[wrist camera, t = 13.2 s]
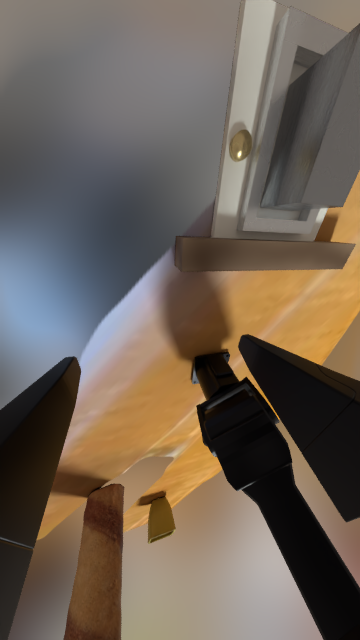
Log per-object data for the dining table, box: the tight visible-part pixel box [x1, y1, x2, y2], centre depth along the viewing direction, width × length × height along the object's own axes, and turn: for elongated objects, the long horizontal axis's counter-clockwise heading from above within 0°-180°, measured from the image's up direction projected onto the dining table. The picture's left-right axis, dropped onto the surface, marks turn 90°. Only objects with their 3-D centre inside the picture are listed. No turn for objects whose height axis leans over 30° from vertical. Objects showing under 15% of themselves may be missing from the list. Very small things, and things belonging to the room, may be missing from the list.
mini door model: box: [211, 0, 348, 241], centre depth 15 cm, size 14×14×2 cm
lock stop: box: [260, 24, 360, 211], centre depth 13 cm, size 8×4×5 cm, turn 177°
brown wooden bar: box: [175, 236, 356, 272], centre depth 19 cm, size 3×22×3 cm, turn 87°
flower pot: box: [148, 497, 176, 544], centre depth 59 cm, size 9×9×9 cm
